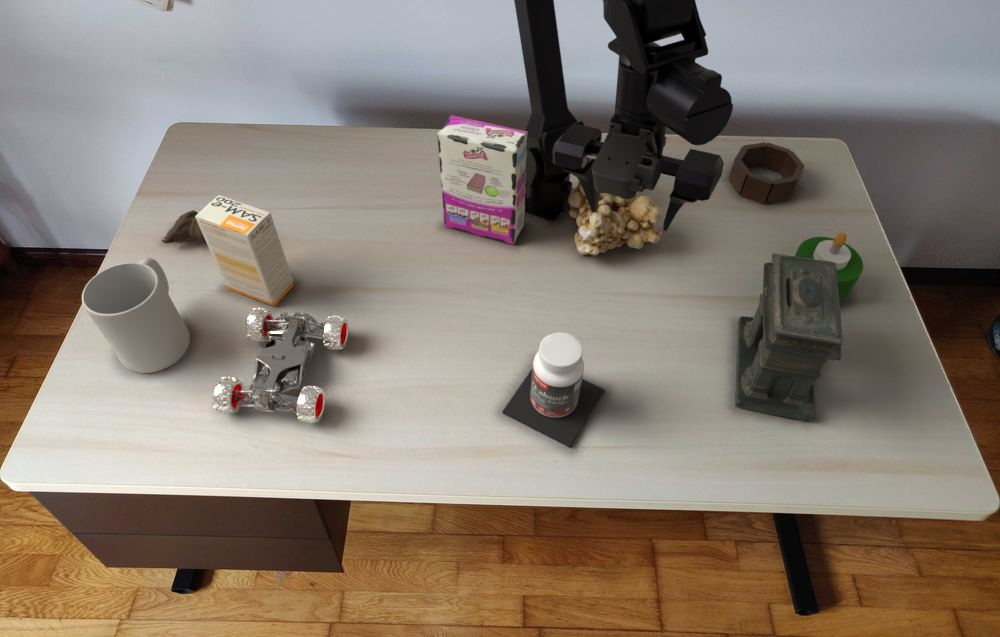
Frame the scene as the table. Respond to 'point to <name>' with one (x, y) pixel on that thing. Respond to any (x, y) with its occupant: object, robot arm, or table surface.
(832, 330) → the model
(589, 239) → the mineral formation
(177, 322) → the mug
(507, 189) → the candy bar box
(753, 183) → the holder ring
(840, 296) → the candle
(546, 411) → the pill bottle
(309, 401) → the toy car
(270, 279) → the supplement box
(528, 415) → the rubber mat
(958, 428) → the table surface
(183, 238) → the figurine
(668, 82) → the robot arm
